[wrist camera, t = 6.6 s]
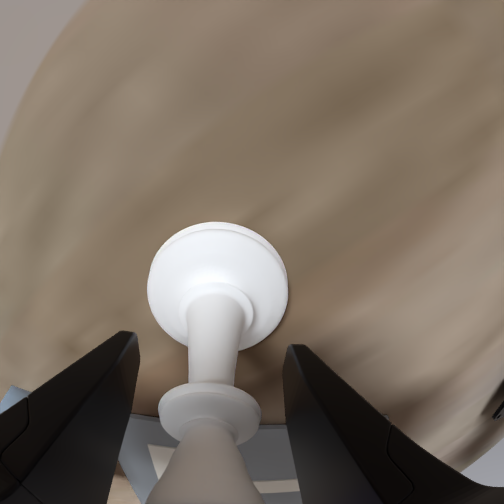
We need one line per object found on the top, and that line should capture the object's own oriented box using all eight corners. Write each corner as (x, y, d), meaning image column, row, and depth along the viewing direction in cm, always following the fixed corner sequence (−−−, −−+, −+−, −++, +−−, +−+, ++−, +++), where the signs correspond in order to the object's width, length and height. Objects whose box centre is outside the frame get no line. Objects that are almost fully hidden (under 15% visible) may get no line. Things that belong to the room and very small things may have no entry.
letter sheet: (387, 414, 15) (389, 419, 14) (316, 508, 20) (317, 511, 20) (98, 406, 13) (96, 412, 13) (143, 504, 19) (143, 508, 19)
